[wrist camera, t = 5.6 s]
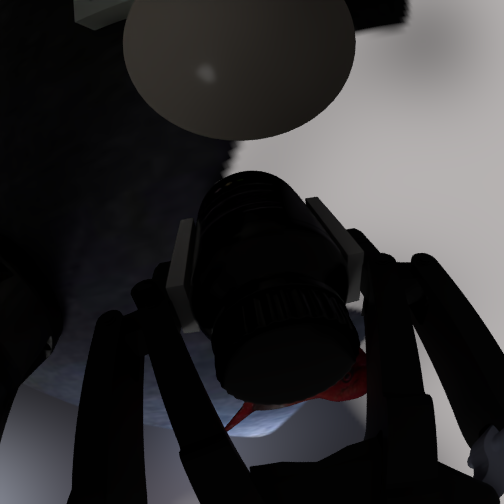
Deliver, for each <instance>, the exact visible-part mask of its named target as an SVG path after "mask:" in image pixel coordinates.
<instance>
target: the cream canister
mask: <svg viewBox="0 0 504 504" xmlns="http://www.w3.org/2000/svg"><path fill="white" fill-rule="evenodd" d="M355 44H356V40H355V29H354V25H353V21H352V17H351V14H350V12H349V9H348V7H347V4H346V3H345V1H344V0H135V1H134V3H133V4H132V7H131V9H130V11H129V14H128V16H127V20H126V24H125V28H124V36H123V51H124V59H125V63H126V67H127V70H128V73H129V75H130V78H131V80H132V82H133V84H134V86H135V87H136V89H137V91H138V92H139V94H140V95H141V96H142V97H143V99H144V100H145V101H146V102H147V104H148V105H150V106H151V107H152V108H153V109H154V110H155V111H156V112H157V113H158V114H160V115H161V116H162V117H164V118H165V119H167V120H168V121H170V122H171V123H173V124H175V125H177V126H179V127H181V128H183V129H185V130H188V131H190V132H193V133H195V134H198V135H202V136H206V137H210V138H215V139H222V140H238V141H245V140H257V139H263V138H268V137H273V136H276V135H279V134H283V133H286V132H289V131H291V130H293V129H295V128H297V127H300V126H302V125H303V124H305V123H307V122H308V121H310V120H312V119H313V118H315V117H316V116H317V115H318V114H320V113H321V112H322V111H323V110H324V109H326V108H327V107H328V105H330V103H331V102H333V101H334V99H335V98H336V97H337V95H338V94H339V93H340V91H341V90H342V88H343V86H344V84H345V83H346V81H347V79H348V76H349V74H350V71H351V68H352V65H353V61H354V56H355Z"/></svg>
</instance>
